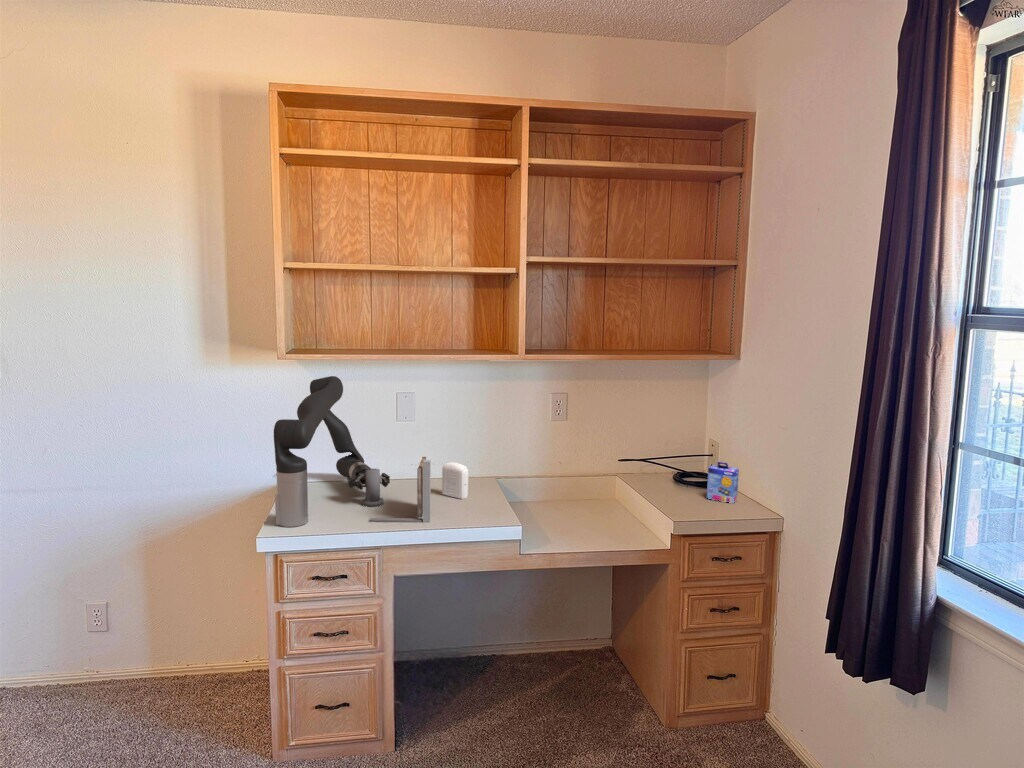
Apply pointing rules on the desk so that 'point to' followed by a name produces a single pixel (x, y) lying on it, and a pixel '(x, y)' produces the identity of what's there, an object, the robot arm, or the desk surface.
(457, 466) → the photo printer
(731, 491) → the ink cartridge box
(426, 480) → the wall frame
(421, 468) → the door
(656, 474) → the desk surface
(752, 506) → the desk surface
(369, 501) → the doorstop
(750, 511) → the desk surface
